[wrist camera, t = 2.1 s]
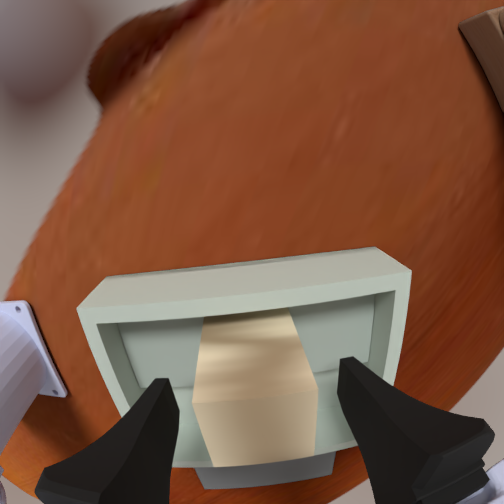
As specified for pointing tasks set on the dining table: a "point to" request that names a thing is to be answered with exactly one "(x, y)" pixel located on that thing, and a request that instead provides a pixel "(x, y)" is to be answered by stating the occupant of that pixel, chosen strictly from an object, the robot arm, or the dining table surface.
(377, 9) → the dining table surface
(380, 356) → the box
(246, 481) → the mat
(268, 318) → the birch block
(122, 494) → the robot arm
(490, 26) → the wooden block structure
